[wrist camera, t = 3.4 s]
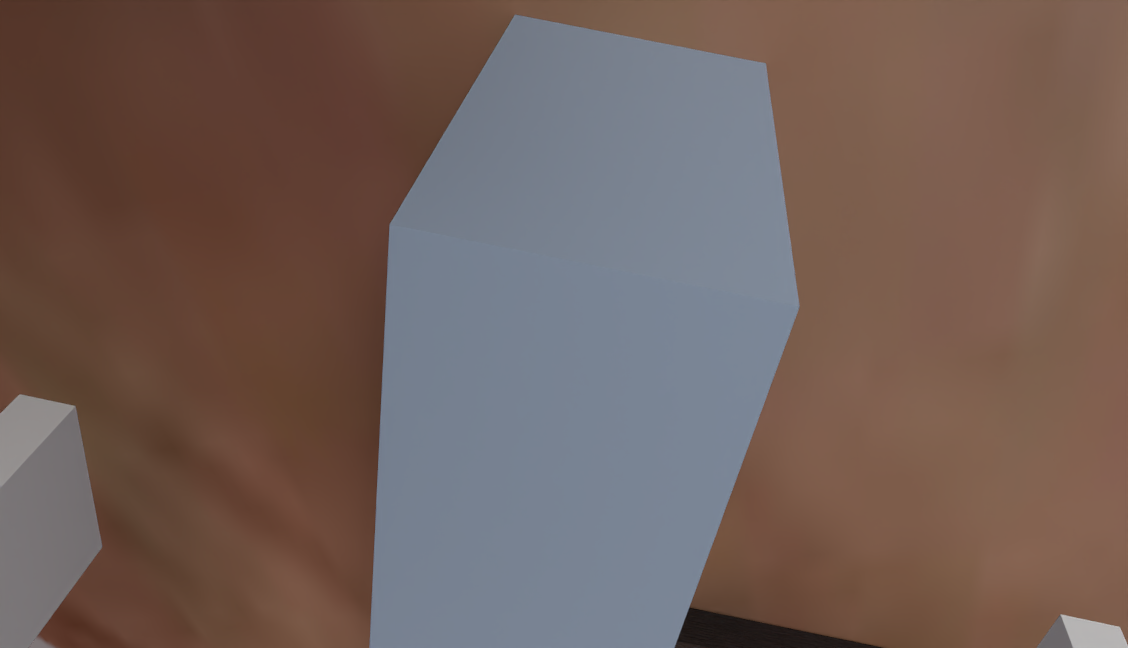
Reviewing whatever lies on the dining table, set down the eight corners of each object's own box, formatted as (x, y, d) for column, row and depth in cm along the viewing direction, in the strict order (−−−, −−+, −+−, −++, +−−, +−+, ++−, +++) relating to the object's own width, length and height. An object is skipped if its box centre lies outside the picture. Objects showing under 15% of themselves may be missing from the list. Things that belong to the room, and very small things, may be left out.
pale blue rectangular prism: (461, 464, 20) (363, 767, 15) (515, 12, 15) (389, 224, 9) (639, 501, 20) (611, 821, 15) (765, 61, 15) (800, 307, 9)
